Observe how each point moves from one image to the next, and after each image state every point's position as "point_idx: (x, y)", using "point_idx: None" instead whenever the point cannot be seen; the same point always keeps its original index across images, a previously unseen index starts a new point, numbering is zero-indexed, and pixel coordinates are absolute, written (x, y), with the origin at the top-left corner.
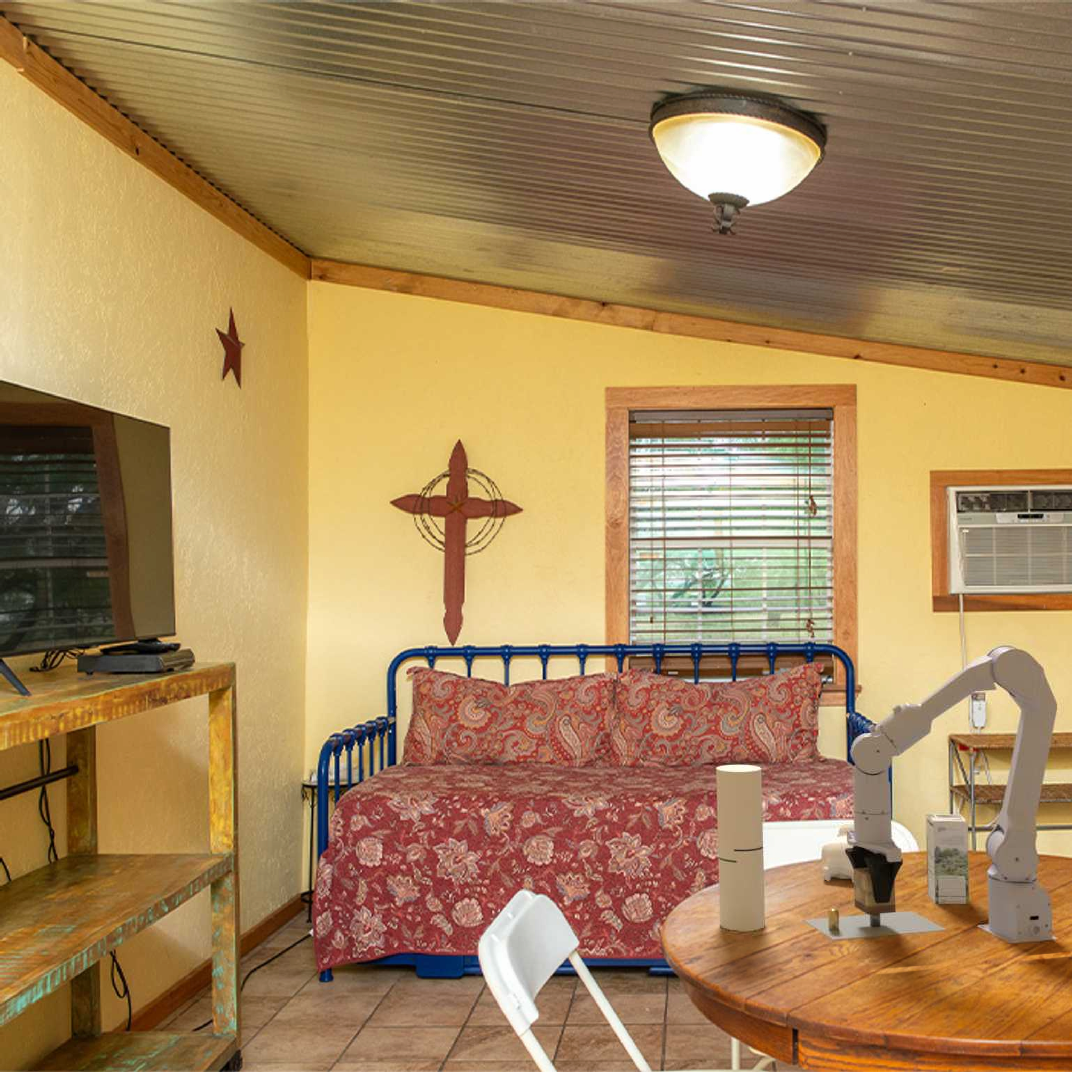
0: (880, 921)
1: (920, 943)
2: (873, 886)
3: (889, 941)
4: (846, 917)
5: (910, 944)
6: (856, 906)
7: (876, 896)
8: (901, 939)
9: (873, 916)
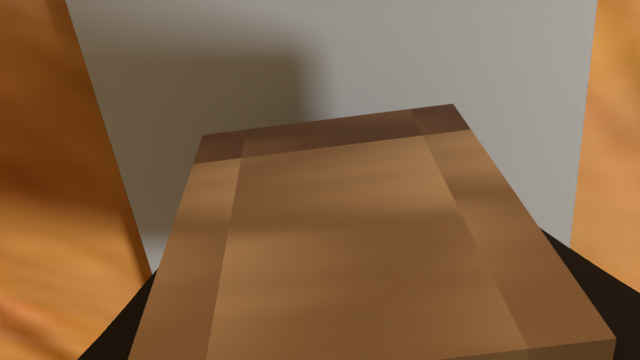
0: None
1: (48, 292)
2: (128, 340)
3: (80, 156)
4: (566, 45)
5: (25, 243)
6: (421, 111)
7: (144, 286)
8: (123, 229)
9: None
